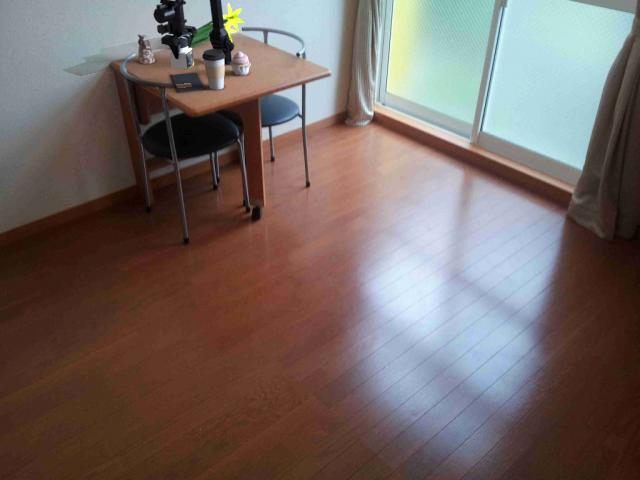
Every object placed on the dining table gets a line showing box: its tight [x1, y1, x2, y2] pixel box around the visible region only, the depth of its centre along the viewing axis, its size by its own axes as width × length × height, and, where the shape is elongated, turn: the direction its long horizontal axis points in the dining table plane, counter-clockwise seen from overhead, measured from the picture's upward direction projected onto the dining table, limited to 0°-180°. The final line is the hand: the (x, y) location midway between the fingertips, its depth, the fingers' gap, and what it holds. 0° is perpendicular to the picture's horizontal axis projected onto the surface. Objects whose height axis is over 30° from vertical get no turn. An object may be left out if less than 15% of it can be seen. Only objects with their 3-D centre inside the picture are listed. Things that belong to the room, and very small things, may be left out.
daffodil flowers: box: [190, 2, 246, 49], centre depth 283 cm, size 17×15×35 cm
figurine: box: [137, 33, 156, 65], centre depth 262 cm, size 7×7×12 cm
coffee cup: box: [201, 48, 226, 91], centre depth 238 cm, size 9×9×15 cm
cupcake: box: [229, 50, 252, 77], centre depth 253 cm, size 9×9×10 cm
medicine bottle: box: [169, 37, 195, 71], centre depth 239 cm, size 7×7×12 cm
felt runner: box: [170, 71, 206, 93], centre depth 246 cm, size 11×20×1 cm, turn 20°
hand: (181, 56), depth 240 cm, fingers closed on medicine bottle, 7 cm apart
